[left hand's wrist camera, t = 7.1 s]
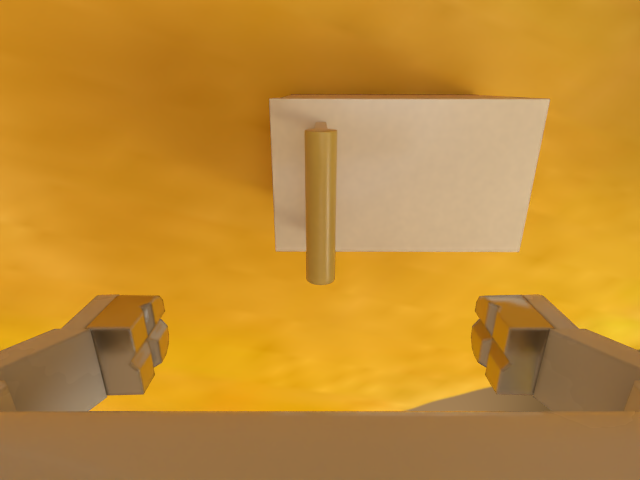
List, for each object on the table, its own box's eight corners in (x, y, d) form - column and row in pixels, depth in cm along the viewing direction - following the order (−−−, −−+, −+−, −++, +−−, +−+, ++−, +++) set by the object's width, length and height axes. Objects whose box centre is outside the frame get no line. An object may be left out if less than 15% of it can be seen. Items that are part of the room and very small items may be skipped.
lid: (277, 245, 28) (260, 305, 20) (271, 97, 24) (248, 102, 17) (511, 246, 28) (584, 306, 20) (540, 98, 24) (641, 103, 17)
